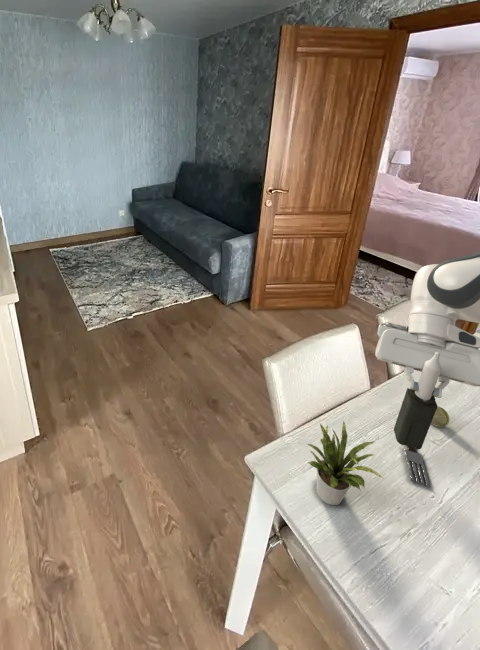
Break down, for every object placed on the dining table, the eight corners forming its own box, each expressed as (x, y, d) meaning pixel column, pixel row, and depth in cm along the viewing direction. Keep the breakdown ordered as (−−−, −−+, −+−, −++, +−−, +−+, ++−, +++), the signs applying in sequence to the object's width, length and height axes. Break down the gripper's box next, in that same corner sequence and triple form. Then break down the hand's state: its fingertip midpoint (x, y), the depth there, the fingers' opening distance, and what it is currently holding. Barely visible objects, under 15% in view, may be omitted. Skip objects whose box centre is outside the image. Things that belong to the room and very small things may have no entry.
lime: (446, 432, 91) (452, 419, 89) (424, 423, 94) (429, 409, 92) (446, 421, 94) (452, 408, 93) (425, 412, 97) (430, 399, 95)
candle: (397, 443, 80) (427, 357, 70) (392, 425, 84) (420, 342, 75) (422, 450, 78) (457, 363, 69) (416, 432, 83) (448, 347, 73)
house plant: (380, 496, 76) (399, 444, 70) (357, 548, 67) (376, 494, 61) (318, 453, 86) (329, 404, 79) (290, 493, 77) (301, 441, 70)
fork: (411, 423, 94) (412, 422, 94) (428, 486, 78) (429, 485, 78) (396, 419, 95) (397, 418, 95) (410, 480, 79) (411, 479, 79)
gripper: (381, 317, 81) (373, 376, 77) (491, 342, 73) (489, 410, 68) (376, 323, 87) (368, 378, 82) (478, 347, 78) (476, 410, 74)
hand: (424, 393), depth 75 cm, fingers closed on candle, 3 cm apart
